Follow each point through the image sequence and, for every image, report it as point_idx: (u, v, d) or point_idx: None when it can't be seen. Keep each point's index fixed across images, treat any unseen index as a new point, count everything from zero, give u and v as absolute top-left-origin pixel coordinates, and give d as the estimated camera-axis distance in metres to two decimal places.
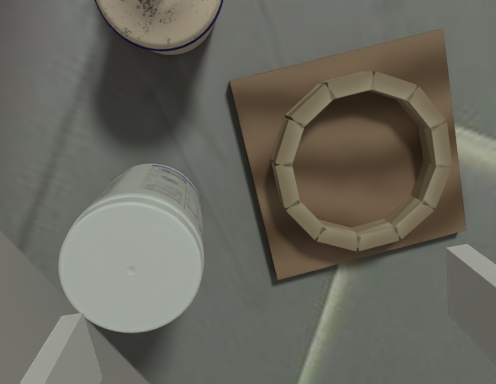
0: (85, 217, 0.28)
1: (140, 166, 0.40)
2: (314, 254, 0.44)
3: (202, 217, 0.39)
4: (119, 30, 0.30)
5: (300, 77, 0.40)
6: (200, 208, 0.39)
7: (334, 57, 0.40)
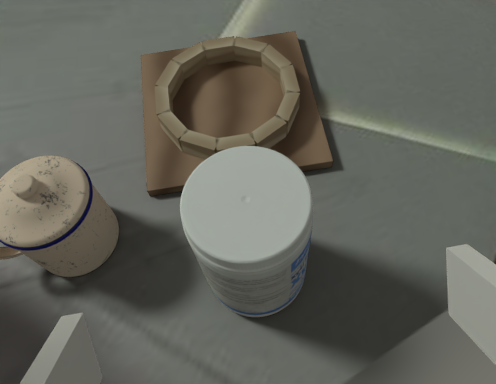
0: (187, 231, 0.29)
1: None
2: (308, 132, 0.49)
3: None
4: (64, 228, 0.36)
5: (155, 140, 0.50)
6: None
7: (145, 118, 0.51)
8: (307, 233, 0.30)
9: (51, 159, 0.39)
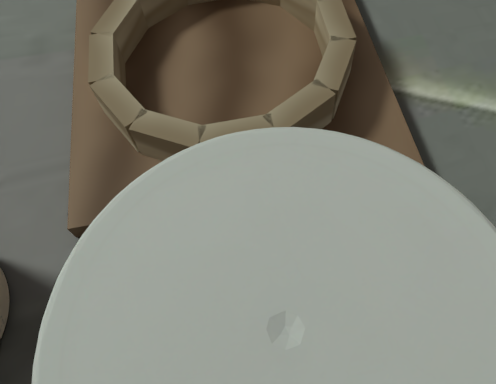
0: None
1: None
2: (372, 113, 0.26)
3: None
4: None
5: (89, 133, 0.27)
6: None
7: (75, 94, 0.29)
8: None
9: None
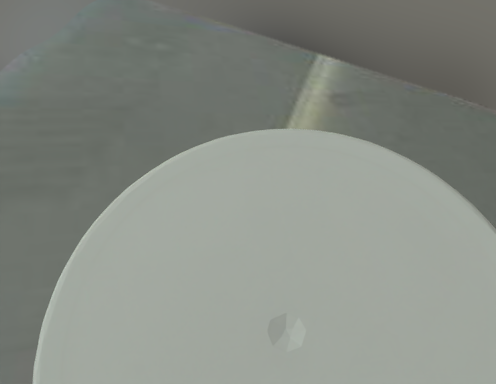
0: None
1: None
2: None
3: None
4: None
5: None
6: None
7: None
8: None
9: None
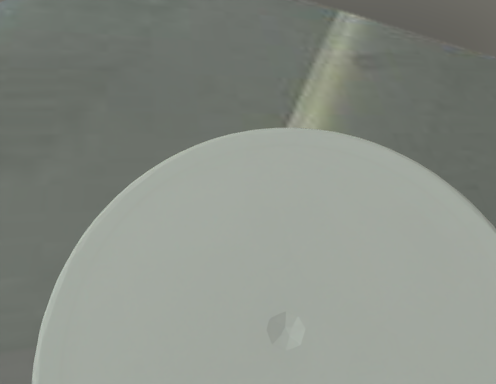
0: None
1: None
2: None
3: None
4: None
5: None
6: None
7: None
8: None
9: None
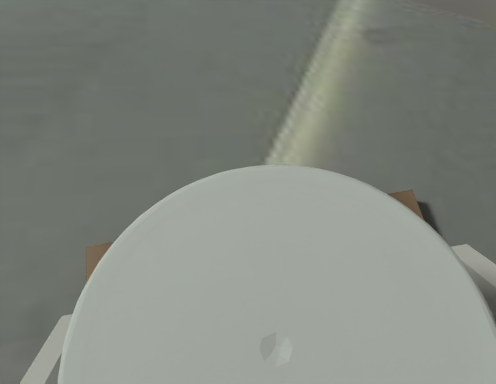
0: None
1: None
2: None
3: None
4: None
5: None
6: None
7: None
8: None
9: None
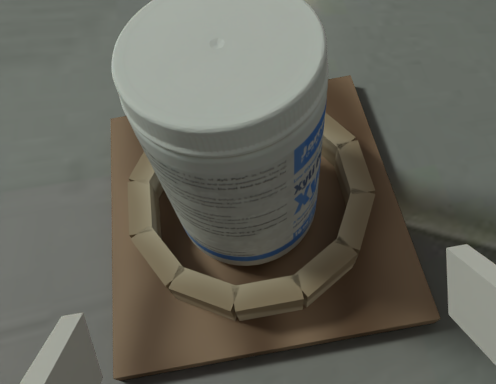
0: (120, 91, 0.18)
1: None
2: (390, 258, 0.28)
3: None
4: None
5: (129, 275, 0.29)
6: None
7: (114, 232, 0.31)
8: (319, 96, 0.18)
9: None
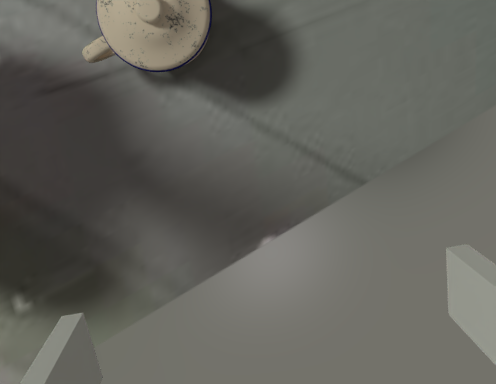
0: None
1: None
2: None
3: None
4: (193, 52, 0.36)
5: None
6: None
7: None
8: None
9: None
